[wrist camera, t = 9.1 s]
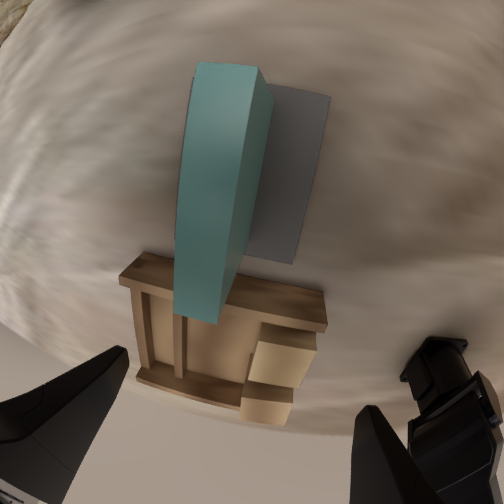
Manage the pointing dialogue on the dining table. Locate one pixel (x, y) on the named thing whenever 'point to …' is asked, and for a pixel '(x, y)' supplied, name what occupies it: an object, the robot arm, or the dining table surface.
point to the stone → (11, 15)
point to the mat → (285, 172)
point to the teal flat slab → (218, 184)
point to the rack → (209, 331)
